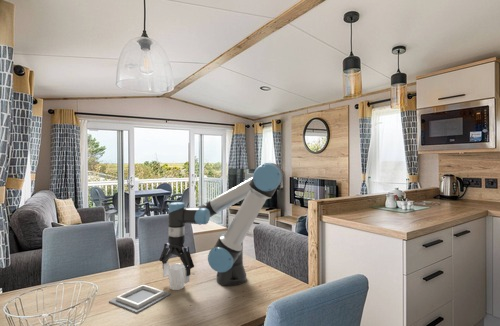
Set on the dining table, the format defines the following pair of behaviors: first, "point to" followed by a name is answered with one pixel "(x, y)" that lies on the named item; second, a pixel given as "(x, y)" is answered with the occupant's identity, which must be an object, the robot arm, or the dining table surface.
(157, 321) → the dining table surface
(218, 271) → the robot arm
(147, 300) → the holder
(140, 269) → the dining table surface
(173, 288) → the white cup
